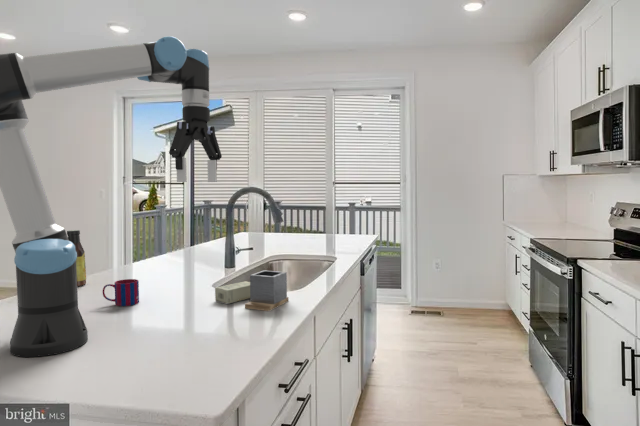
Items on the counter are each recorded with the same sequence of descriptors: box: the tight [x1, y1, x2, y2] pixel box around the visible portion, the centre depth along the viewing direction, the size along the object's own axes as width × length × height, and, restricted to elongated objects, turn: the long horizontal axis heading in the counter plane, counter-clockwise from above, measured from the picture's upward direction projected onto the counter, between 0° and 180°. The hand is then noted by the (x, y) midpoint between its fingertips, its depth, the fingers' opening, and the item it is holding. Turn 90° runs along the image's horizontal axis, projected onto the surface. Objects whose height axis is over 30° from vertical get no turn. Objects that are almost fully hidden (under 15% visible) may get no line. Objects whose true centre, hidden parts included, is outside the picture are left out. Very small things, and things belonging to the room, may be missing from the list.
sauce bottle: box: [66, 229, 87, 287], centre depth 164 cm, size 6×6×20 cm
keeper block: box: [244, 296, 289, 312], centre depth 137 cm, size 12×8×6 cm, turn 156°
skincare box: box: [214, 280, 250, 305], centre depth 144 cm, size 6×4×12 cm
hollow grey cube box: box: [249, 269, 288, 304], centre depth 138 cm, size 8×8×8 cm
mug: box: [102, 278, 140, 307], centre depth 139 cm, size 7×10×7 cm
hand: (197, 182), depth 131 cm, fingers open, 13 cm apart
